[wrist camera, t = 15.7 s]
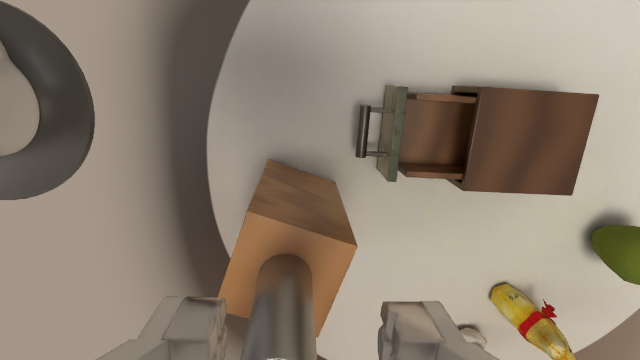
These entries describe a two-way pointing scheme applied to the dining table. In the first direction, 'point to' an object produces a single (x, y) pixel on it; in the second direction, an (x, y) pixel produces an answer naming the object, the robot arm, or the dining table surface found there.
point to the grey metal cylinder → (282, 312)
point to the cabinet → (525, 140)
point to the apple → (619, 250)
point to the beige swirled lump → (473, 337)
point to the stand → (291, 237)
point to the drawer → (420, 134)
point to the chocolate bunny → (532, 322)
